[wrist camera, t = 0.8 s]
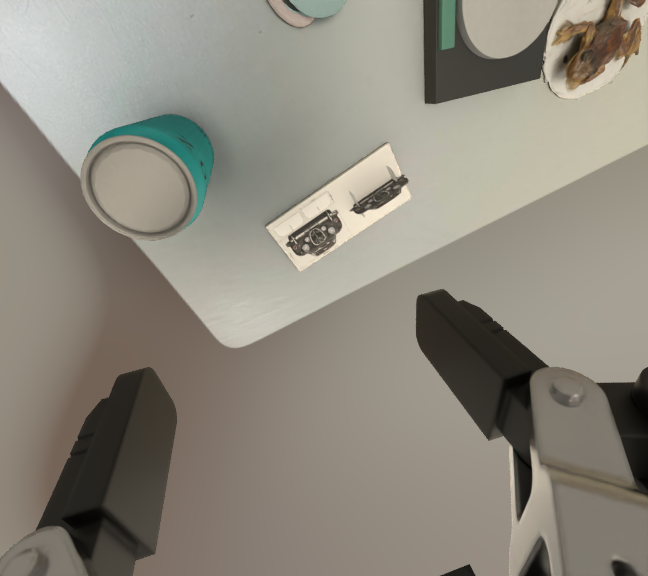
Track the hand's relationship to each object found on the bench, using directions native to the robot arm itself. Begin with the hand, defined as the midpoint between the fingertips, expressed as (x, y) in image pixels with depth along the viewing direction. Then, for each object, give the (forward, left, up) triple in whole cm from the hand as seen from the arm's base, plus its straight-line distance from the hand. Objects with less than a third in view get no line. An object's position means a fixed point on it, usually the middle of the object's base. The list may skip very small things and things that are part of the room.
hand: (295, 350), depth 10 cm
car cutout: (+6, +8, -26) cm, 27 cm away
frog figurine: (-5, +36, -26) cm, 45 cm away
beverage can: (-4, -5, -26) cm, 26 cm away
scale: (-10, +24, -26) cm, 36 cm away
